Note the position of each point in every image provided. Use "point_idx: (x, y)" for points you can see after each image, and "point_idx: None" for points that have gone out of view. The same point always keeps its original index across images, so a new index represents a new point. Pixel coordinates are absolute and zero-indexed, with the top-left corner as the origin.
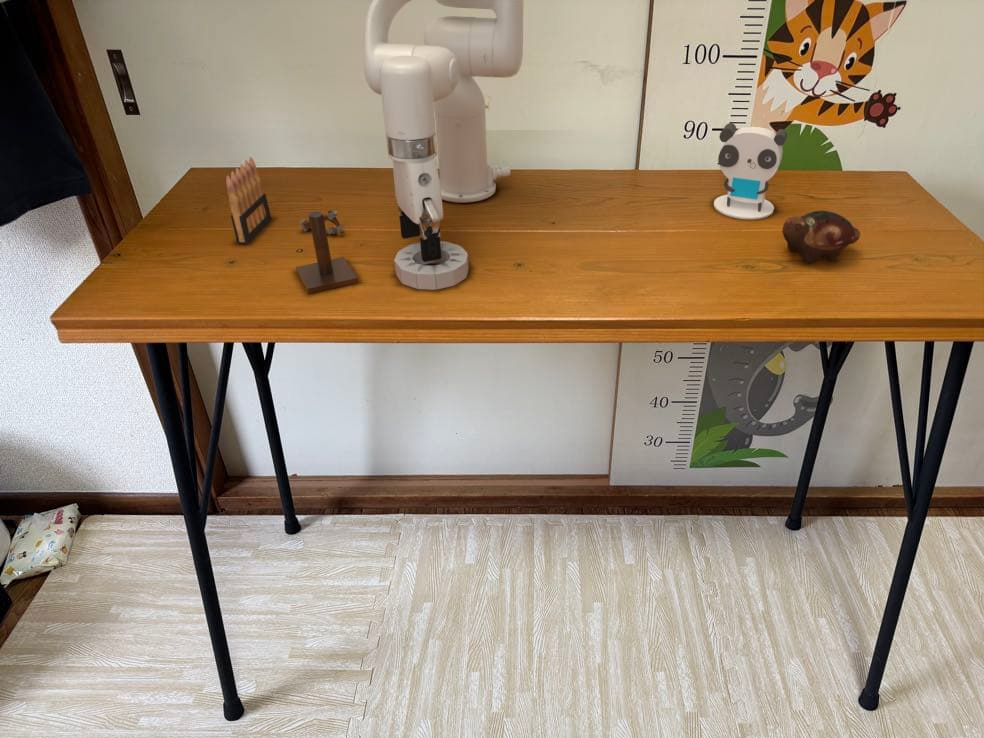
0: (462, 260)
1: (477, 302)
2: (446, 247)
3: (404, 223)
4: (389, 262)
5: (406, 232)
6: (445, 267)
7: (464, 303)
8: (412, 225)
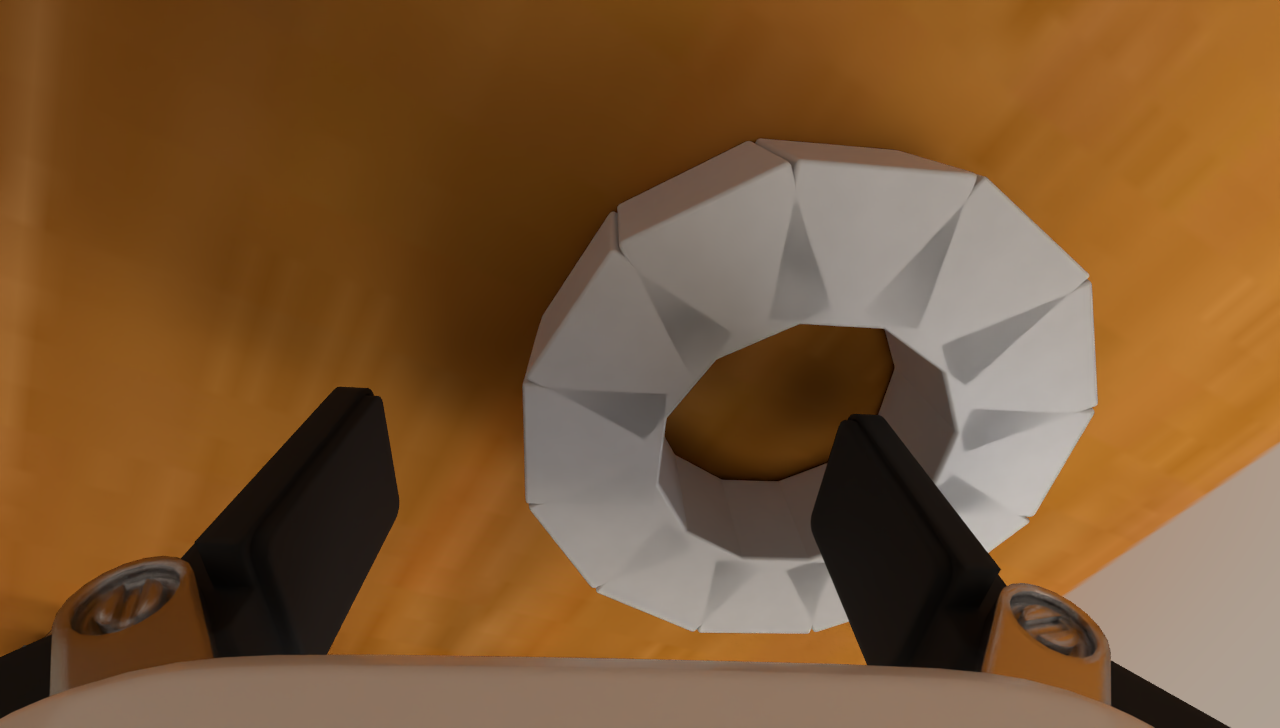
0: (1045, 286)
1: (1270, 318)
2: (738, 298)
3: (339, 605)
4: (514, 530)
5: (376, 522)
6: (1017, 439)
7: (1202, 383)
8: (341, 516)
